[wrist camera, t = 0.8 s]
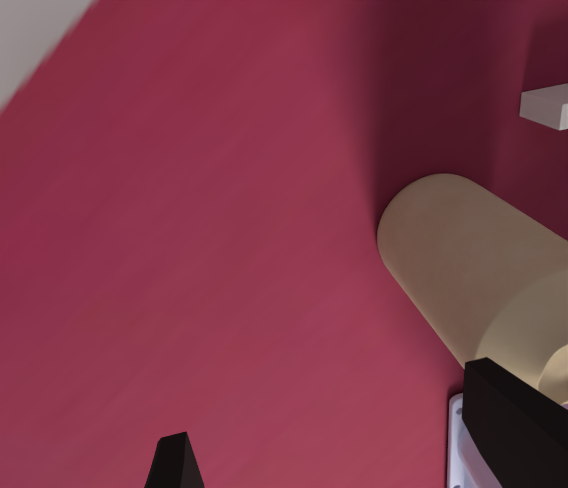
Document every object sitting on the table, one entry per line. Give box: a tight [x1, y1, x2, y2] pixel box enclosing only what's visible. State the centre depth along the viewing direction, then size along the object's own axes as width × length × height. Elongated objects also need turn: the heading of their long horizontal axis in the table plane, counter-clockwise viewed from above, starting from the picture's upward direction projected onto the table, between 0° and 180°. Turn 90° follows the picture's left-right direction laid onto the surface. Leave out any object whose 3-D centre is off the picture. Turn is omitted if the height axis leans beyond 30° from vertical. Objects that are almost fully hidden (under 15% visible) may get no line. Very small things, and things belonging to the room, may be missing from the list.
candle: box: [377, 173, 568, 405], centre depth 18 cm, size 6×6×10 cm
